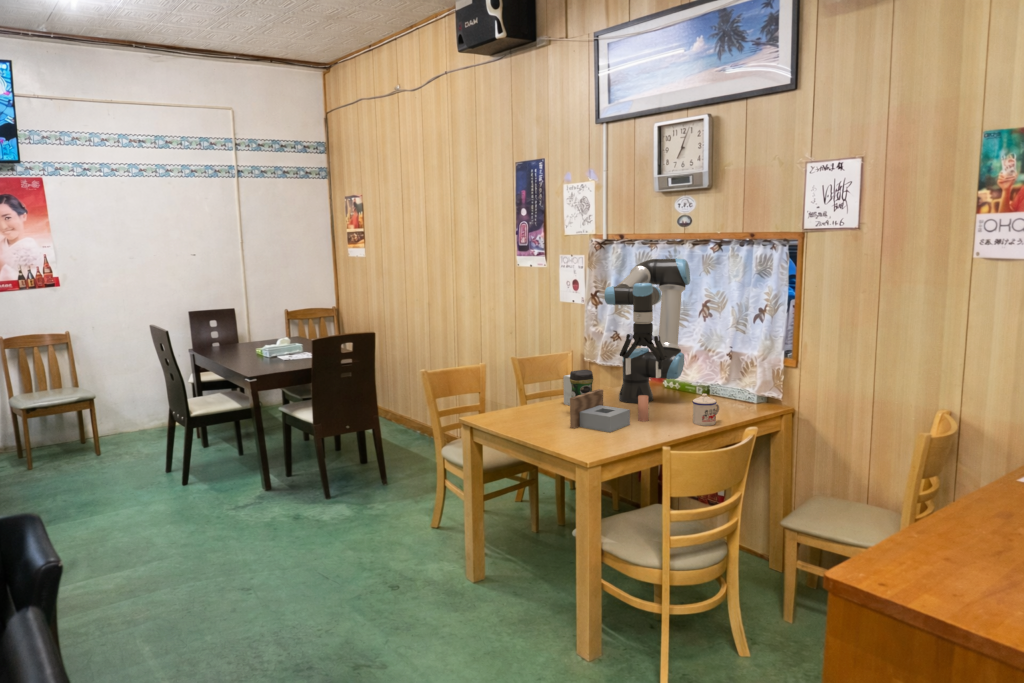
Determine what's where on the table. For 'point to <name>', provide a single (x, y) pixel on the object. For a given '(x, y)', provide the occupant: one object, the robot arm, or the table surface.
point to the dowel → (643, 408)
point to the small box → (567, 389)
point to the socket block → (605, 418)
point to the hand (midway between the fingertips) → (643, 375)
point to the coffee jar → (581, 382)
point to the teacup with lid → (705, 410)
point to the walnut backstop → (584, 405)
